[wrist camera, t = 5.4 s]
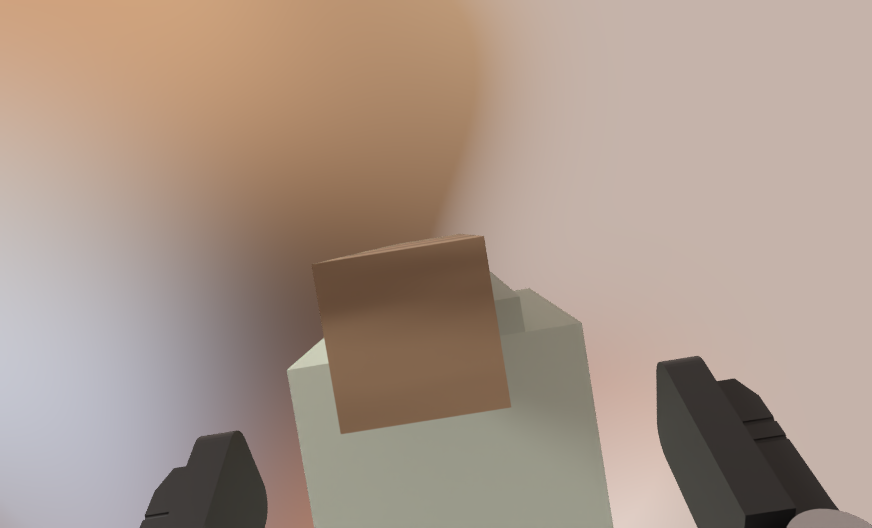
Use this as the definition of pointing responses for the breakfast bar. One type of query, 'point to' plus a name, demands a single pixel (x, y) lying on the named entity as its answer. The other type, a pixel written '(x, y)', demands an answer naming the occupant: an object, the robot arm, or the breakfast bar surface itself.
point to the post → (467, 442)
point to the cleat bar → (411, 333)
